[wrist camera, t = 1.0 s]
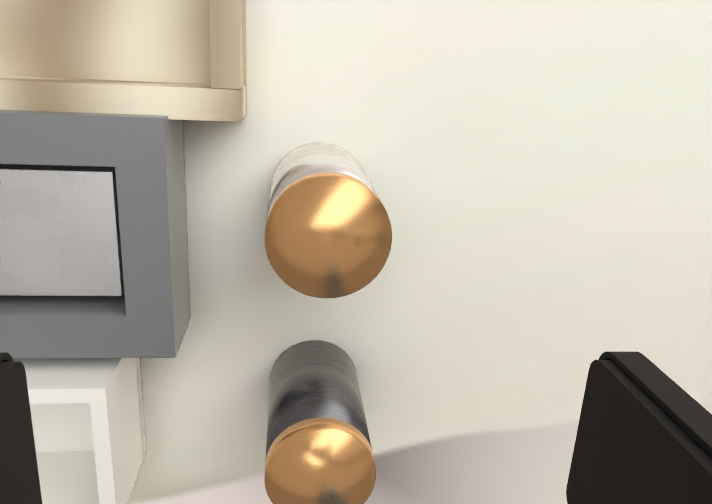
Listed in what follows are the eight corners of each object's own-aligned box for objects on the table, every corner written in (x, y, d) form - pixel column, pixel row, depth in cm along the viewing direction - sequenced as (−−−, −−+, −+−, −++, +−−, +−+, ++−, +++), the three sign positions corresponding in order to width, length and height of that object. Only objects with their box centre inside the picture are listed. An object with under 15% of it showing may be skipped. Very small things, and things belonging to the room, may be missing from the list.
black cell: (358, 340, 28) (379, 429, 22) (354, 415, 30) (372, 521, 23) (270, 340, 28) (264, 431, 21) (270, 417, 29) (264, 525, 23)
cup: (137, 328, 27) (105, 388, 22) (145, 452, 29) (118, 530, 24) (-18, 329, 26) (-84, 390, 22) (2, 455, 28) (-55, 537, 24)
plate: (117, 167, 23) (111, 172, 22) (126, 288, 25) (121, 296, 24) (-19, 164, 22) (-30, 168, 22) (-2, 287, 24) (-12, 295, 23)
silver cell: (368, 143, 26) (395, 178, 19) (363, 236, 27) (387, 298, 20) (271, 140, 25) (264, 174, 19) (270, 234, 26) (264, 298, 20)
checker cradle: (182, 107, 24) (163, 118, 21) (190, 316, 27) (175, 357, 24) (-62, 98, 23) (-125, 107, 20) (-27, 316, 26) (-77, 359, 23)
